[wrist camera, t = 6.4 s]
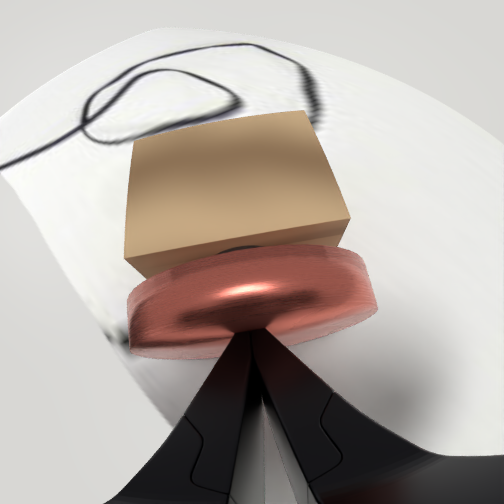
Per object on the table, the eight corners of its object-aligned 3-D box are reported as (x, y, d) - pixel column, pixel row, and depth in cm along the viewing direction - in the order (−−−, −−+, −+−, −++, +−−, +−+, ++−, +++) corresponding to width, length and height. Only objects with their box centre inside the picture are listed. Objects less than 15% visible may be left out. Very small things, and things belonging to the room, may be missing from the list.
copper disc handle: (342, 333, 14) (425, 277, 6) (175, 363, 14) (73, 339, 6) (295, 170, 19) (305, 52, 11) (164, 193, 18) (114, 86, 10)
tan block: (319, 281, 16) (350, 218, 10) (178, 306, 16) (123, 258, 9) (295, 194, 18) (304, 110, 12) (173, 216, 18) (134, 140, 12)
